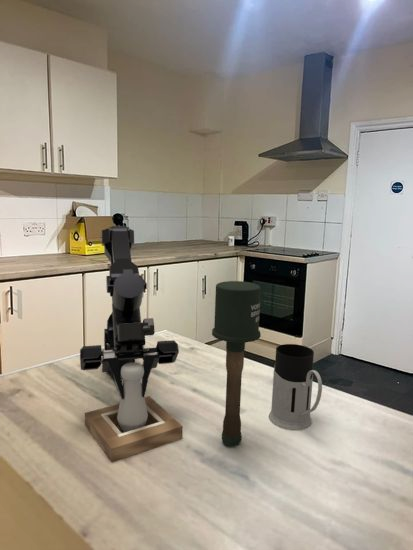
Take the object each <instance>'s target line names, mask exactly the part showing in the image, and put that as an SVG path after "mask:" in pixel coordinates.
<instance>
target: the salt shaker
mask: <svg viewBox="0 0 413 550" xmlns="http://www.w3.org/2000/svg"><path fill="white" fill-rule="evenodd" d="M143 375H144V367H143V366H142V364H141V363H139V362H136V361H135V362H132V363H126V364H125V365H123V366H122V368H121V379H123V381H122V385H123V391H124V399H121V397H119V403H118V404H119V410H118V415H117V420H118V423H119V424H118V425H119V427H120V429H121V431H123V433H125V432H128V431H131V430H135V429H138V428H141V427H145V426H146V424H147V418H148V413H147V408H146V404H145V399H144V397H145V396H144V397H142V385H141V381H142V377H143Z"/></svg>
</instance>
